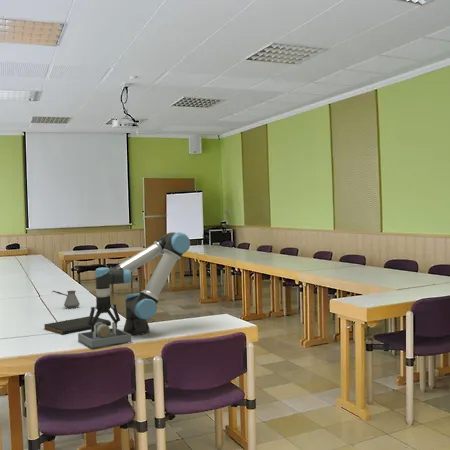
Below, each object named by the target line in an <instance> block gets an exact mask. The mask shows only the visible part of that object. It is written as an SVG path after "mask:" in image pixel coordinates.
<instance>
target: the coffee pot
mask: <svg viewBox="0 0 450 450" xmlns="http://www.w3.org/2000/svg"><path fill="white" fill-rule="evenodd" d="M66 292H67V294H66V293H63V292H60V291H56V290H52V291H51V294H53V293H55V294H57V295H63V296H66V299H65V301H64V303H63V306H64V307H65V308H66V309H67V308H68V309H69V310H70V309H71V308H73V309H76V307H77V308H78V307H79V306H80V302H79V301H80V300H78V297H77V295H76V292H77V291H76V290H67V291H66Z"/></svg>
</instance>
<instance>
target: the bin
mask: <svg viewBox="0 0 450 450" xmlns="http://www.w3.org/2000/svg"><path fill="white" fill-rule="evenodd" d="M110 331H111V332H113V329H112V327H111V328H110ZM77 338H78V339H77V340H78V341H77V342H78V343H79V344H80V343H81V344H82V345H83V346H85V347H87V348H89V349H91V350H97V349H102V348H110V347H114V346H119V345H125V344H126V343H127V344H129V343H128V342H131V343H132V335H131V334H129V333H126V332H124V331H123V330H122V329H120V328H118V327H117V328H116V335H113V336H112V335H109V336H108V337H106V338H100V337H98V336H96V338H93V332H91V331H84V332H77Z"/></svg>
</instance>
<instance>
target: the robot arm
mask: <svg viewBox="0 0 450 450" xmlns="http://www.w3.org/2000/svg"><path fill="white" fill-rule="evenodd" d="M190 247H191V241H190V238H189V236H188V235H187V234H186V233H183V232H179V231H177V232H168V233H166V234H164V235H162V236H161V237H160V238H157V239H156V240H155V241H154V242H153V244H152V245H149V246H147V247H146V248H144V249H142V250H141V251H139V252H138V253H135V254H134V255H132V256H130V257H129V258H127V259H126V260H124V261H122V262H121V263H119V264H117V265H116V266H113V267H110V268H109V267H98V268H96V269H95V275H94V276H95V296H96V297H95V298H96V299H95V300H96V304H95V306H90V313H89V319H88V323H87V324H88V325H90V326H91V329H90V332H93V338H96V326H94V325H95V323H96V321H97V319H98V318H100V316H101V314H108V316H109V317H110V319H111V320H112V321H113V322H112V321H111V328H112V329H113V333H114V335H116V328H117V329H118V323H119V322H120V321H121V318H120V315H119V313H118V310H117V305H116V304H115V303H113V304H111V285H121V284H129V283H131V282H132V272H133V271H135V270H138V268H141V267H142V266H144V265H145V264H147V263H149V262H150V261H152V260H153V259H155V258H158V257H159V256H161V258H160V260H159V262H158V264H157V265H156V268H155V269H154V271H153V273H152V275H151V277H150V279H149V280H148V283H147V285H146V287H145V289H143V290H140V292H137V293H128V294H126V295H125V299H124V300H125V323H124V327H123V330H122V331H124V332H126V333H129V334H131V336H135V335H136V334H139V335H143V334H142V333H145V334H147V333H146V332H148V331H149V332H150V326H149V323H148V320H149V319H152V318H153V317H154V316H155V314H156V313H157V310H158V306H157V304H158V303H159V301H160V300H159V295H160V293H161V292H162V289H163V288H164V286H165V284H166V282H167V280H168V279H169V276H170V274H171V273H172V270H173V268H174V266H175V264H176V262H177V261H178V260H181V258H182V257H183V255H184V254H185V253H186V252H188V251H189V249H190ZM110 309H112V311H113V313H114V314H113V313H112V311H111V310H110ZM96 310H97V311H96ZM95 311H96V312H95ZM95 313H96V314H95ZM94 314H95V315H94ZM93 317H94V319H93ZM92 319H93V321H92ZM149 332H148V333H149ZM136 336H137V335H136Z"/></svg>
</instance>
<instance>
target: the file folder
mask: <svg viewBox="0 0 450 450" xmlns="http://www.w3.org/2000/svg"><path fill="white" fill-rule="evenodd" d="M89 316H90V315H89ZM89 316H88V315H87V316H85V317H83V316H82V317H79V318H71V319H66V320H61V321H56V322H50V323H44V324H43V326H44V327H43V330H45V331H49V332H50V333H51V332H52V333H55V334H58V335H59V334H60V335H62V336H64V335H69V334H70V335H71V334H74V333H81V332H86V331H88V330H89V331H91V326H90V325H88V324H87V323H88V319H89ZM94 317H95V316H93V319H94ZM93 319H92V321H93ZM98 322H102V323H104V324H105V325H107V326H108V327H110V326H112V321H111V320H109V319H106V318H101V317H98V319H97V321H96V323H98ZM96 323H95V324H96Z"/></svg>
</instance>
